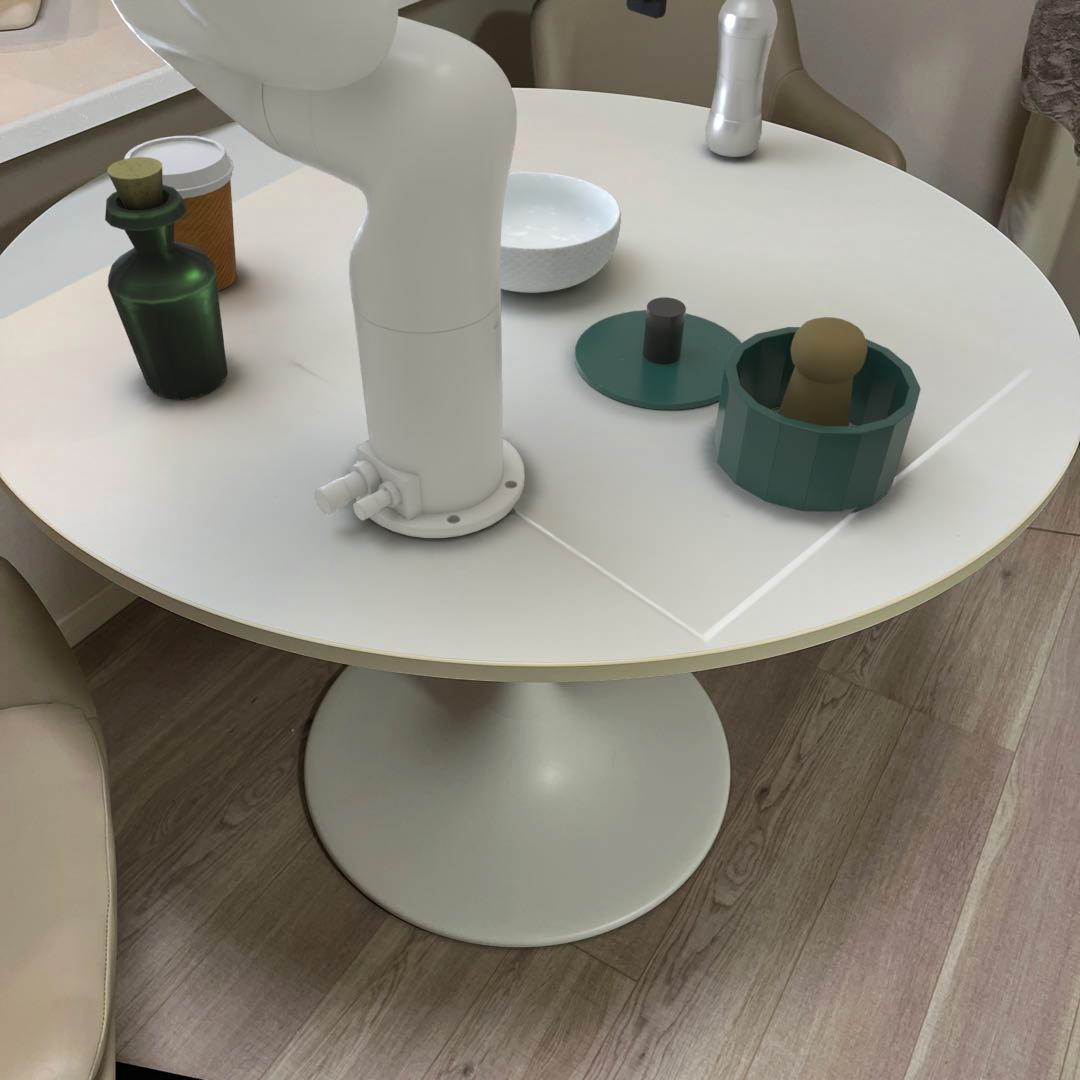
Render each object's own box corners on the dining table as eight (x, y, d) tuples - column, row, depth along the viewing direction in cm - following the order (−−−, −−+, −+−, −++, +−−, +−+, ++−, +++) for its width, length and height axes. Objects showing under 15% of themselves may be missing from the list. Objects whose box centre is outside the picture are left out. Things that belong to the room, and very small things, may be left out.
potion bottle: (249, 392, 86) (205, 179, 74) (148, 417, 84) (85, 200, 72) (224, 344, 92) (179, 138, 80) (128, 366, 89) (67, 156, 77)
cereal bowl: (653, 283, 101) (659, 213, 96) (515, 340, 93) (515, 267, 88) (541, 220, 110) (542, 154, 106) (408, 267, 103) (403, 197, 98)
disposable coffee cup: (268, 287, 99) (246, 162, 91) (168, 313, 95) (136, 185, 87) (234, 246, 105) (210, 126, 97) (138, 270, 101) (105, 146, 93)
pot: (827, 543, 74) (850, 458, 69) (677, 457, 81) (688, 374, 76) (927, 460, 81) (955, 377, 76) (781, 387, 88) (797, 308, 83)
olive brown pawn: (845, 483, 78) (880, 356, 70) (763, 472, 79) (788, 345, 71) (844, 435, 82) (877, 310, 75) (766, 425, 83) (790, 301, 76)
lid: (671, 439, 82) (678, 377, 79) (538, 364, 90) (539, 305, 86) (781, 367, 90) (793, 308, 86) (651, 304, 98) (656, 247, 94)
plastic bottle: (719, 167, 121) (744, -25, 108) (692, 145, 126) (713, -41, 112) (768, 159, 123) (799, -30, 109) (740, 138, 127) (765, -46, 114)
